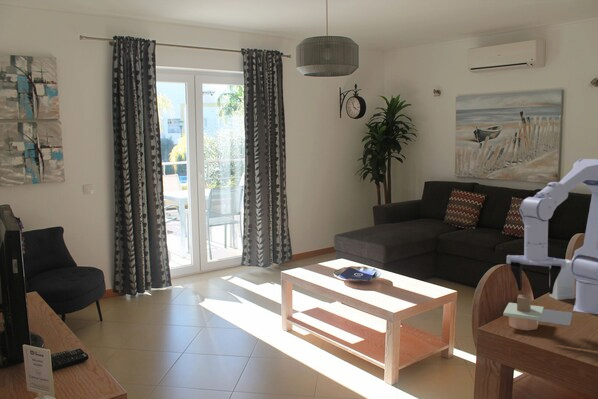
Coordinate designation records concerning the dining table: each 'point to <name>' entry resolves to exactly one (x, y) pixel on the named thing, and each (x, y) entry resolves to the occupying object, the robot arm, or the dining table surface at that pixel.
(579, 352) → the dining table surface
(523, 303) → the sage lid
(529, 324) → the terracotta bowl
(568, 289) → the skincare box
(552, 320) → the grey mat
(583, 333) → the dining table surface
